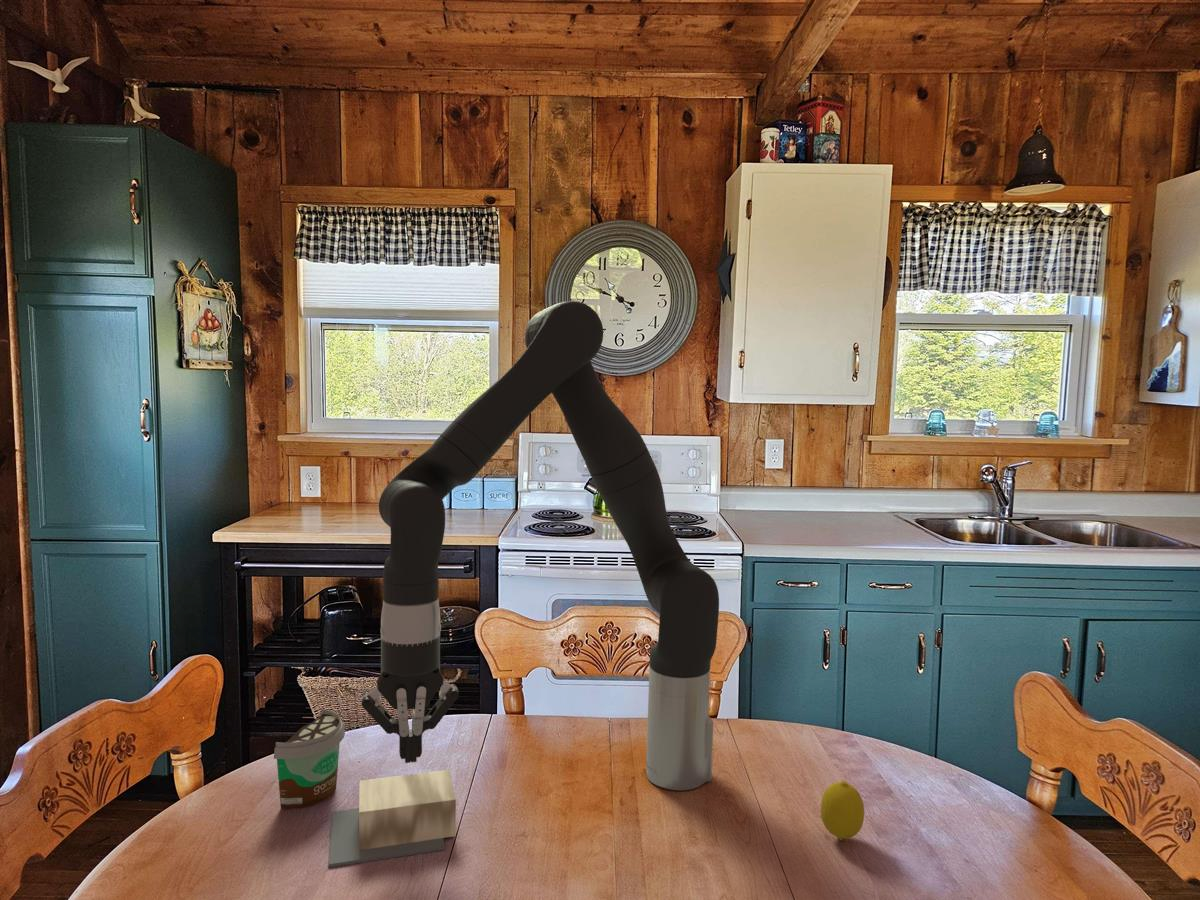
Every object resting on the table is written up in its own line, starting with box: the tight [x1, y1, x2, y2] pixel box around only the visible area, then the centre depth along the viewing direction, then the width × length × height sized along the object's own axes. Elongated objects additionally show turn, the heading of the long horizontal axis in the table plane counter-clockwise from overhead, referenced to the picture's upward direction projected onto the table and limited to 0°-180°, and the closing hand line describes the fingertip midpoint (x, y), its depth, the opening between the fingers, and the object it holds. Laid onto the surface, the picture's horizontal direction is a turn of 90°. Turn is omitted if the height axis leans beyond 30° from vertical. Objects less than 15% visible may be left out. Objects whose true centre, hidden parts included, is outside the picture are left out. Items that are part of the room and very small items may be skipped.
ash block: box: [358, 769, 457, 850], centre depth 102 cm, size 5×8×12 cm
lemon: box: [820, 780, 865, 840], centre depth 102 cm, size 6×6×8 cm
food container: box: [273, 708, 346, 810], centre depth 110 cm, size 12×6×10 cm, turn 168°
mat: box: [328, 807, 446, 868], centre depth 101 cm, size 14×12×1 cm
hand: (410, 759), depth 102 cm, fingers closed
